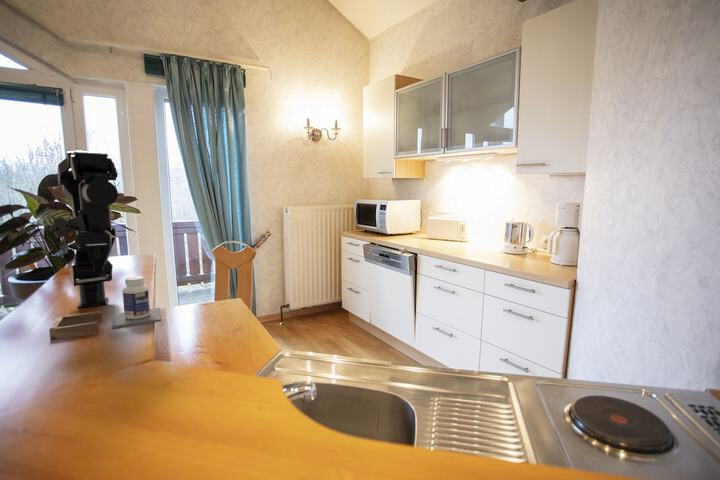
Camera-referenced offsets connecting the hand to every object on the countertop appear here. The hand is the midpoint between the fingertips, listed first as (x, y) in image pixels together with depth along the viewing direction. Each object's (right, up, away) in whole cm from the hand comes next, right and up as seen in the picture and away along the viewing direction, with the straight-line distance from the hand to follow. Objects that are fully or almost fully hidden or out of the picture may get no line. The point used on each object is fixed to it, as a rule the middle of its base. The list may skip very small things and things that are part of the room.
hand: (101, 269), depth 89 cm
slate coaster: (+8, -12, +2) cm, 15 cm away
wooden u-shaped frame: (-1, -13, -5) cm, 14 cm away
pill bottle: (+8, -12, +2) cm, 15 cm away
